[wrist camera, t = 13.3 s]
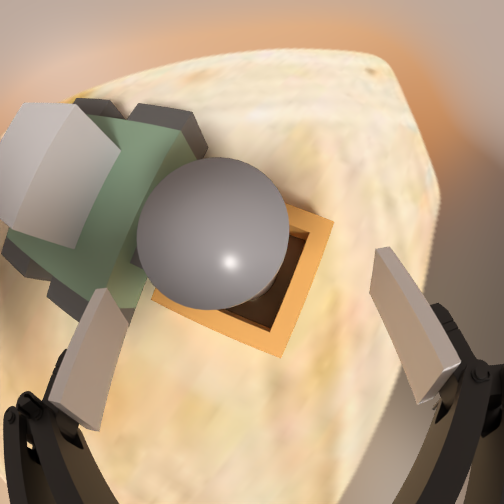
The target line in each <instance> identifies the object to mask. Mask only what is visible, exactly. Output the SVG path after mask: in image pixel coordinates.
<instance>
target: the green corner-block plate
mask: <svg viewBox="0 0 504 504" xmlns="http://www.w3.org/2000/svg"><path fill="white" fill-rule="evenodd" d="M207 149H208V146H207V144H206V141H205V139H204V137H203V135H202V133H201V130H200V128H199V126H198V124H197V121H196V119H195V117H194V115H193V112H190V111H185V110H179V109H174V108H168V107H161V106H155V105H148V104H141V103H138V104H137V106H136V107H135V109H134V110H133V112H132V113H131V114H130V116H129V117H128V119H127V120H125V118H124V117H123V116H122V115H121V113H120V112H119V111H118V110H117V108H116V107H115V106H114V105H113V103H112V102H111V101H110V100H102V99H87V98H76V100H75V101H74V103H73V104H63V103H23V105H22V106H21V108H20V109H19V111H18V112H17V114H16V116H15V118H14V119H13V121H12V122H11V124H10V126H9V127H8V129H7V131H6V133H5V134H4V136H3V138H2V140H1V142H0V219H1V220H2V221H3V222H4V223H5V224H7V225H8V226H9V230H8V233H7V236H6V239H5V243H4V246H3V249H2V253H1V254H2V255H3V256H4V257H5V258H6V259H7V260H8V261H9V262H10V263H11V264H12V265H13V266H14V267H15V268H16V269H17V270H18V271H19V272H20V273H21V274H22V275H23V276H24V277H26V278H33V279H39V280H46V281H51V283H50V286H49V290H48V293H47V297H48V298H49V299H50V300H51V301H52V302H54V303H55V304H56V305H57V306H59V307H60V308H61V309H62V310H64V311H65V312H66V313H67V314H69V315H70V316H71V317H73V318H74V319H75V320H77V321H78V322H80V320H81V318H82V315H83V313H84V311H85V309H86V307H87V305H88V303H89V301H90V299H91V297H92V295H93V293H94V292H95V290H96V289H101V288H107V289H108V290H109V292H110V294H111V296H112V297H113V299H114V301H115V302H116V304H117V306H118V307H119V309H120V311H121V312H122V314H123V315H124V317H125V319H126V320H127V322H128V323H129V325H130V322H131V319H132V316H133V313H134V311H135V308H136V305H137V303H138V300H139V297H140V295H141V292H142V289H143V287H144V284H145V282H146V279H147V275H146V273H145V271H144V269H143V267H142V264H141V262H140V259H139V254H138V249H137V228H138V222H139V218H140V214H141V211H142V209H143V207H144V204H145V202H146V200H147V199H148V197H149V195H150V194H151V192H152V191H153V190H154V188H155V187H156V186H157V185H158V184H159V183H160V182H161V181H162V180H163V179H164V178H165V177H166V176H167V175H168V174H170V173H171V172H173V171H174V170H176V169H177V168H179V167H181V166H183V165H185V164H188V163H190V162H193V161H196V160H200V159H202V158H203V156H204V155H205V153H206V151H207ZM285 205H286V209H287V213H288V218H289V234H290V235H292V236H295V237H297V238H300V239H302V240H305V244H304V247H303V249H302V252H301V255H300V257H299V260H298V262H297V265H296V268H295V270H294V273H293V275H292V278H291V280H290V283H289V285H288V288H287V290H286V293H285V295H284V298H283V300H282V302H281V305H280V307H279V310H278V312H277V315H276V317H275V319H274V322H273V324H272V326H271V328H268V327H266V326H263V325H261V324H259V323H256V322H254V321H251V320H249V319H246V318H244V317H242V316H239V315H237V314H235V313H232V312H230V311H228V310H225V309H218V310H199V309H193V308H189V307H185V306H183V305H180V304H178V303H176V302H174V301H172V300H170V299H169V298H167V297H166V296H165V295H163V294H162V293H161V292H160V291H159V290H158V289H157V288H155V290H154V293H153V295H152V298H151V300H153V301H155V302H157V303H158V304H160V305H162V306H164V307H166V308H168V309H170V310H172V311H174V312H176V313H178V314H180V315H182V316H184V317H187V318H189V319H191V320H193V321H195V322H197V323H199V324H201V325H203V326H206V327H208V328H210V329H212V330H214V331H217V332H219V333H221V334H223V335H226V336H228V337H230V338H232V339H235V340H237V341H239V342H242V343H244V344H247V345H249V346H251V347H254V348H256V349H259V350H261V351H264V352H266V353H269V354H271V355H274V356H276V357H279V358H281V357H282V355H283V352H284V350H285V348H286V345H287V343H288V341H289V339H290V336H291V334H292V331H293V329H294V327H295V324H296V322H297V320H298V317H299V315H300V312H301V310H302V307H303V305H304V302H305V300H306V297H307V295H308V292H309V290H310V287H311V285H312V282H313V279H314V277H315V274H316V272H317V269H318V266H319V263H320V261H321V258H322V255H323V253H324V250H325V247H326V244H327V241H328V239H329V236H330V233H331V230H332V227H333V224H334V222H333V221H331V220H328V219H326V218H323V217H321V216H318V215H316V214H313V213H310V212H308V211H305V210H303V209H300V208H297V207H295V206H292V205H289V204H287V203H285ZM128 327H129V326H128Z"/></svg>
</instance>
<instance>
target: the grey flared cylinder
mask: <svg viewBox="0 0 504 504" xmlns="http://www.w3.org/2000/svg"><path fill="white" fill-rule="evenodd" d="M288 240H289V218H288V213H287V209H286V205H285V203H284V200H283V198H282V196H281V194H280V192H279V191H278V189H277V188H276V186H275V185H274V184H273V182H272V181H271V180H270V179H269V178H268V177H267V176H266V175H265V174H263V173H262V172H261V171H259V170H258V169H257V168H255V167H253V166H251V165H249V164H247V163H244V162H242V161H239V160H235V159H230V158H221V157H218V158H205V159H200V160H196V161H193V162H190V163H188V164H185V165H183V166H181V167H179V168H177V169H176V170H174V171H173V172H171V173H170V174H168V175H167V176H166V177H165V178H164V179H163V180H162V181H161V182H160V183H159V184H158V185H157V186H156V187H155V188H154V190H153V191H152V192H151V194H150V195H149V197H148V199H147V200H146V202H145V204H144V207H143V209H142V211H141V214H140V218H139V222H138V228H137V249H138V254H139V259H140V262H141V264H142V267H143V269H144V271H145V273H146V275H147V277H148V278H149V280H150V281H151V282H152V284H153V285H154V286H155V287H156V288H157V289H158V290H159V291H160V292H161V293H162V294H163V295H165V296H166V297H167V298H169V299H170V300H172V301H174V302H176V303H178V304H180V305H183V306H185V307H189V308H193V309H199V310H218V309H225V308H230V307H234V306H237V305H240V304H242V303H244V302H246V301H248V300H252V299H255V298H258V297H260V296H262V295H263V294H265V293H266V292H267V291H268V290H269V289H270V288H271V286H272V285H273V283H274V281H275V279H276V276H277V273H278V271H279V269H280V267H281V265H282V263H283V261H284V257H285V254H286V251H287V245H288Z"/></svg>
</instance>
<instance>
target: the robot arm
mask: <svg viewBox="0 0 504 504" xmlns="http://www.w3.org/2000/svg"><path fill="white" fill-rule="evenodd" d="M369 293H370V295H371V297H372V299H373V301H374V303H375V305H376V307H377V309H378V311H379V314H380V316H381V318H382V320H383V322H384V324H385V327H386V329H387V331H388V333H389V335H390V338H391V340H392V342H393V345H394V347H395V349H396V352H397V354H398V356H399V359H400V361H401V363H402V366H403V368H404V371H405V373H406V376H407V378H408V381H409V383H410V386H411V389H412V391H413V394H414V397H415V399H416V402H417V405H418V404H421V403H423V402H426V401H428V400H430V399H433V398H434V397H435V396H436V394H437V393H438V392H439V394H440V396H441V398H440V399H439V400H438V402H437V403H436V404H435V405H434V407H433V408H432V409H433V410H435V408H436V407H437V409H436V412H435V414H434V417H433V420H432V423H431V425H430V428H429V431H428V433H427V435H426V438H425V440H424V443H423V445H422V448H421V450H420V452H419V454H418V456H417V459H416V461H415V463H414V465H413V467H412V469H411V471H410V473H409V475H408V477H407V478H406V480H405V482H404V484H403V486H402V488H401V490H400V491H399V493H398V495H397V496H396V498H395V500H394V502H393V503H392V504H455V502H456V500H457V498H458V496H459V493H460V491H461V489H462V486H463V484H464V482H465V479H466V477H467V474H468V472H469V469H470V466H471V472H470V477H469V482H468V487H467V491H466V496H465V500H464V504H504V364H500V365H488V364H487V363H486V362H484V361H483V360H478V359H476V357H475V356H474V354H473V353H472V351H471V349H470V347H469V345H468V343H467V342H466V340H465V338H464V336H463V335H462V333H461V331H460V330H459V329H458V326H457V325H456V323H455V322H454V321H453V318H452V317H451V315H450V313H449V312H448V310H447V309H445V308H444V307H443V306H442V305H441V304H439V303H436V304H433V305H429V304H428V302H427V300H426V299H425V297H424V296H423V294H422V292H421V291H420V289H419V288H418V286H417V285H416V283H415V282H414V280H413V279H412V277H411V276H410V274H409V273H408V271H407V270H406V269H405V267H404V266H403V264H402V263H401V261H400V260H399V259H398V257H397V256H396V254H395V253H394V252H393V250H392V249H391V248H390V247H384V248H378V249H376V250H375V258H374V265H373V272H372V279H371V286H370V292H369ZM128 326H129V323H128V322H127V320H126V319H125V317H124V315H123V314H122V312H121V311H120V309H119V307H118V306H117V304H116V302H115V301H114V299H113V297H112V296H111V294H110V292H109V290H108V289H107V288H101V289H96V290H95V292H94V293H93V295H92V297H91V299H90V301H89V303H88V305H87V307H86V309H85V311H84V313H83V315H82V318H81V320H80V322H79V324H78V326H77V328H76V330H75V333H74V335H73V337H72V339H71V342H70V344H69V346H68V349H65V350H64V351H63V352H62V354H61V355H60V356H59V358H58V361H57V363H56V365H55V366H56V368H54V370H53V375H52V376H51V378H50V381H49V384H48V386H47V389H46V392H45V395H44V398H43V400H42V401H41V400H40V399H39V398H37V397H36V396H35V395H34V394H33V393H31V392H30V391H26V392H24V393H22V394H21V395H20V397H19V398H18V400H17V404H16V407H15V406H11V407H9V408H8V409H7V410H6V412H5V414H4V419H3V440H4V460H5V471H6V479H7V487H8V493H9V498H10V504H119V503H118V501H117V500H116V498H115V497H114V495H113V493H112V492H111V490H110V488H109V486H108V485H107V483H106V481H105V479H104V478H103V476H102V474H101V472H100V470H99V468H98V466H97V464H96V462H95V460H94V458H93V456H92V454H91V452H90V450H89V448H88V445H87V443H86V441H85V439H84V436H83V434H82V432H81V430H80V429H79V428H78V426H79V424H80V425H82V426H83V427H85V428H86V429H89V430H94V431H99V430H100V425H101V421H102V417H103V412H104V408H105V404H106V400H107V396H108V392H109V389H110V385H111V381H112V378H113V374H114V371H115V367H116V364H117V360H118V357H119V354H120V351H121V347H122V344H123V341H124V338H125V335H126V332H127V329H128ZM27 442H29V443H30V444H32V445H33V447H32V449H30V448H28V447H27ZM471 464H472V465H471Z"/></svg>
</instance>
